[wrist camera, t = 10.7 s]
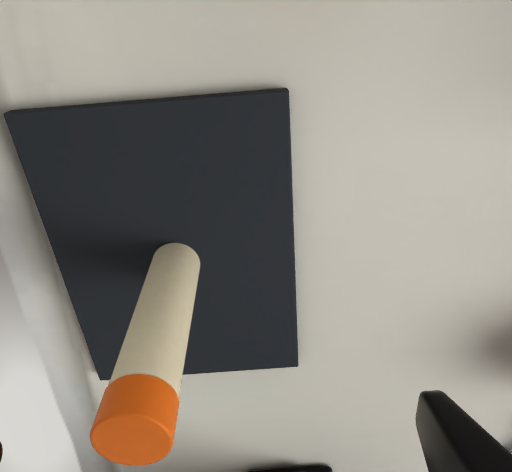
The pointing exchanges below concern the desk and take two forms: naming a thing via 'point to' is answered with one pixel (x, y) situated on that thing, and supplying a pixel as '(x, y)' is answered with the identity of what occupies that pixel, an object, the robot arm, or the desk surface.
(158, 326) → the glue stick
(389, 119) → the desk surface
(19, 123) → the mat
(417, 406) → the robot arm
